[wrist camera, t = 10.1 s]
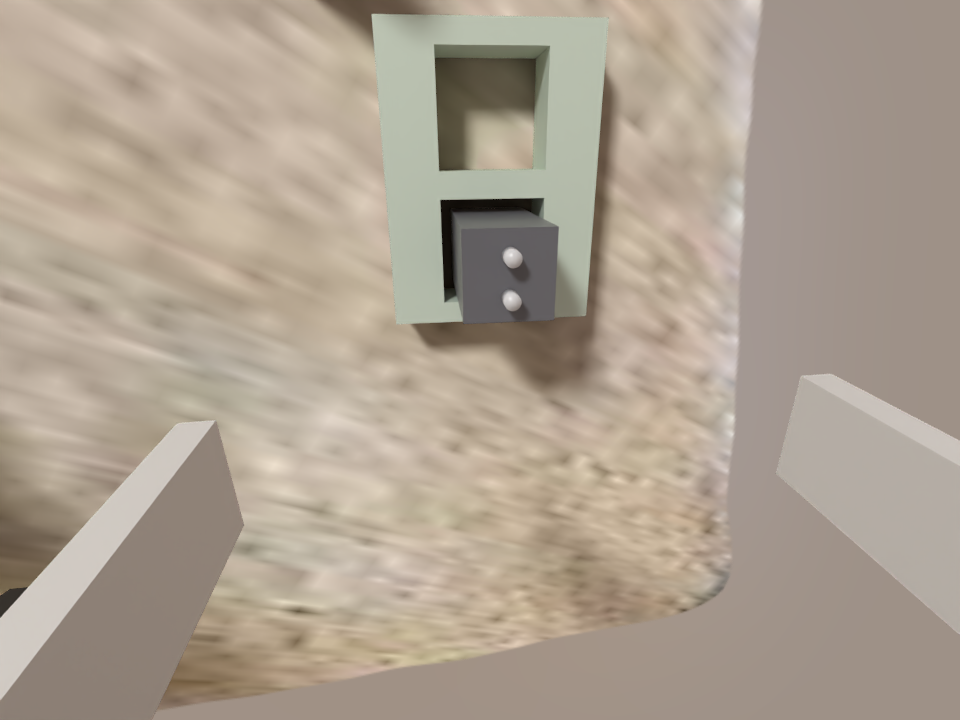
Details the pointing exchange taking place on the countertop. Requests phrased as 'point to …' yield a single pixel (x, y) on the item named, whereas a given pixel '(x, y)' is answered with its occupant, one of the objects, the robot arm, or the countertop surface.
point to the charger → (503, 264)
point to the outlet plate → (551, 183)
